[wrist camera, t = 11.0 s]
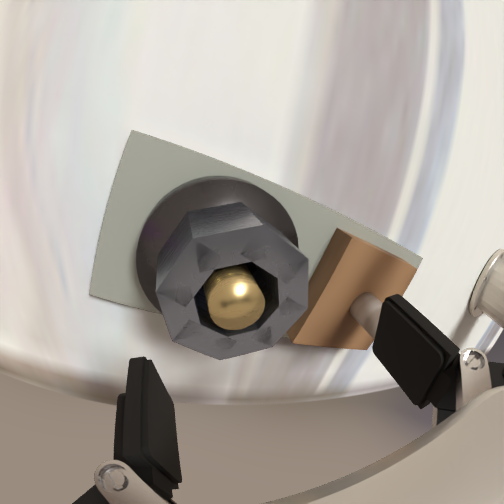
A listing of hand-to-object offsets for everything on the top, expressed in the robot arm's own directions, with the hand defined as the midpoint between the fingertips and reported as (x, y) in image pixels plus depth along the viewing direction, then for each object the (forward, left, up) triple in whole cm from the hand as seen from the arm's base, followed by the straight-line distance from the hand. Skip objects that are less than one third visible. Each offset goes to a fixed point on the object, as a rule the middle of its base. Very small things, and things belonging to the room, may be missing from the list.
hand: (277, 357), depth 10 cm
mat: (-5, 0, -10) cm, 11 cm away
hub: (+1, 0, -9) cm, 9 cm away
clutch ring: (+1, 0, -8) cm, 8 cm away
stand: (-11, 0, -9) cm, 15 cm away
